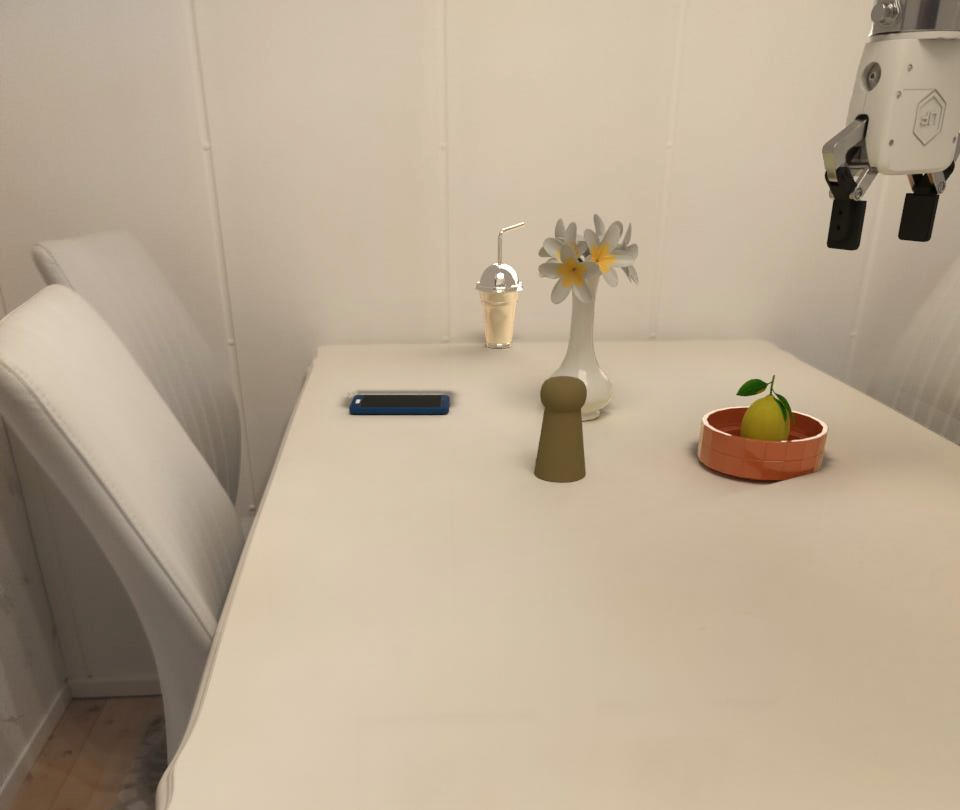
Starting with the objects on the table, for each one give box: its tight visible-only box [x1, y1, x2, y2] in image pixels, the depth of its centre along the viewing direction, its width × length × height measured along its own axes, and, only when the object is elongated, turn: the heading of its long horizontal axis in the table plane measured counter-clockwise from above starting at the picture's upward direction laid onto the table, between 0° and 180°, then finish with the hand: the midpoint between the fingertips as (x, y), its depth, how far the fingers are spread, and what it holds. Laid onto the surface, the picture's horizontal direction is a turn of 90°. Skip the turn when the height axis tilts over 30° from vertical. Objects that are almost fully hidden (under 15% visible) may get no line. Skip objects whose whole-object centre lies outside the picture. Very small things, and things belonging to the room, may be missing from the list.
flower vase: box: [538, 213, 639, 422], centre depth 120 cm, size 13×18×25 cm
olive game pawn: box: [533, 376, 587, 483], centre depth 104 cm, size 6×6×11 cm
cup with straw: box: [474, 222, 526, 349], centre depth 160 cm, size 8×9×20 cm
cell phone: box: [348, 394, 451, 415], centre depth 130 cm, size 7×14×1 cm, turn 90°
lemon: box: [735, 374, 795, 441], centre depth 107 cm, size 7×6×10 cm
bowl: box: [696, 405, 829, 482], centre depth 108 cm, size 14×14×5 cm
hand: (878, 244), depth 85 cm, fingers open, 9 cm apart
